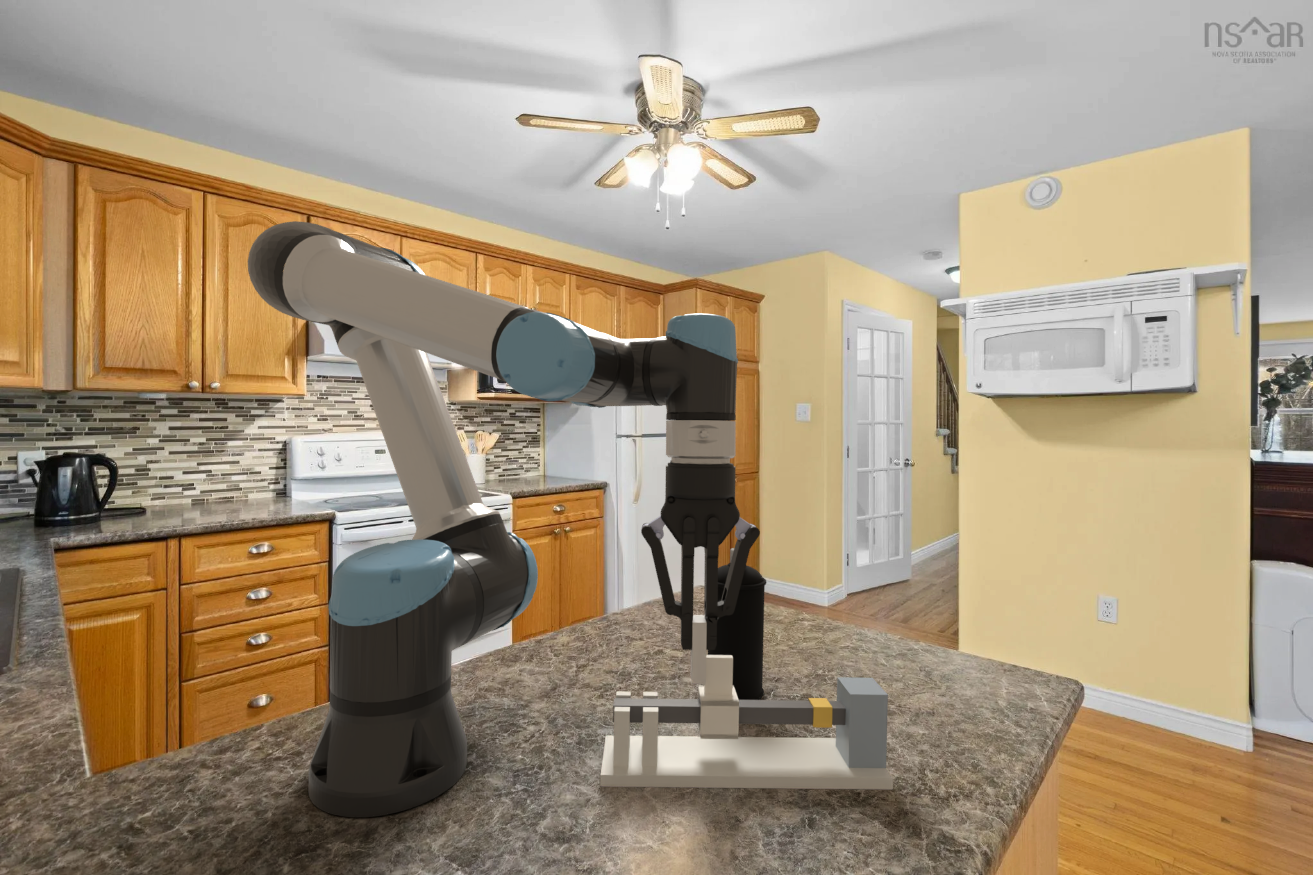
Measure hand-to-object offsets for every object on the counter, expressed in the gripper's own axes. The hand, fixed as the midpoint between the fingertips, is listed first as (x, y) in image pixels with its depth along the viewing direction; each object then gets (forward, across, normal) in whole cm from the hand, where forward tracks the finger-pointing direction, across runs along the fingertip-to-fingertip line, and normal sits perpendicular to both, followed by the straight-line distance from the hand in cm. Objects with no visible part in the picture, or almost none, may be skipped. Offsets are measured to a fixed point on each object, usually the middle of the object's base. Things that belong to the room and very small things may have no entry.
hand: (698, 678), depth 66 cm
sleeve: (+6, +2, 0) cm, 6 cm away
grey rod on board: (+10, +5, 0) cm, 11 cm away
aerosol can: (+10, +7, +19) cm, 23 cm away
